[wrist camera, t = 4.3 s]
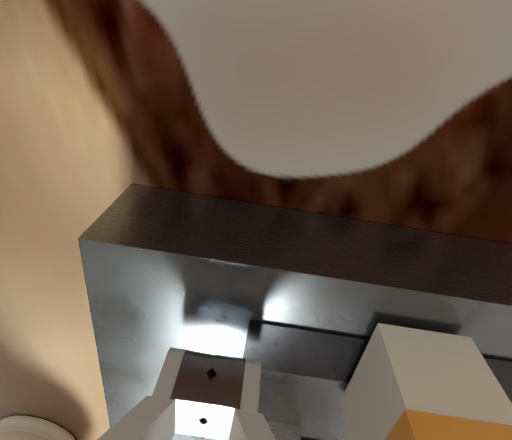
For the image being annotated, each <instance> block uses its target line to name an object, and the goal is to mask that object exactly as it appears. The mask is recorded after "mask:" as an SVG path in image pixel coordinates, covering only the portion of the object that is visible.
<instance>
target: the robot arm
mask: <svg viewBox="0 0 512 440" xmlns="http://www.w3.org/2000/svg"><path fill="white" fill-rule="evenodd" d="M260 376H261V362H260V361H256V360H248V359H245V358H238V357H231V356H224V355H213V354H208V353H202V352H196V351H190V350H185V349H179V348H172V347H170V349H169V351H168V352H167V355H166V358H165V361H164V363H163V366H162V369H161V372H160V374H159V377H158V380H157V383H156V386H155V388H154V391H153V394H152V396H146V397H145V398H144V399H143V400H141V401H140V402H139V403H138V404H137V405H136V406H135V407H134V408H132V409H131V410H130V411H129V412H128V413H127V414H126V415H125V416H123V417H122V418H121V419H120V420H119V421H118V422H117V423H116V424H114V425H113V426H112V427H111V428H110V429H109V430H108V431H107V432H105V433H104V434H103V435H102V436H101V437H100V438H99V439H98V440H171V439H172V437H173V436H174V433H176V434H184V435H193V436H201V437H206V438H212V439H217V440H276V439H275V437H274V435H273V433H272V431H271V429H270V427H269V425H268V423H267V421H266V419H265V417H264V415H263V413H258V407H259V391H260Z"/></svg>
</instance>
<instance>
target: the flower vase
mask: <svg viewBox="0 0 512 440" xmlns="http://www.w3.org/2000/svg"><path fill="white" fill-rule="evenodd" d="M0 440H75V438H74V437H73V436H72V435H71V434H70V433H69V432H68V431H67V430H65V429H63V428H62V427H60V426H59V425H56V424H54V423H52V422H50V421H47V420H44V419H40V418H37V417H31V416H20V415H15V416H9V417H6V418H4V419H1V420H0Z"/></svg>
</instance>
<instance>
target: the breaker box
mask: <svg viewBox="0 0 512 440" xmlns="http://www.w3.org/2000/svg"><path fill="white" fill-rule="evenodd" d="M78 240H79V246H80V252H81V258H82V264H83V270H84V276H85V281H86V287H87V293H88V299H89V305H90V311H91V317H92V322H93V328H94V334H95V340H96V346H97V352H98V358H99V364H100V369H101V375H102V381H103V387H104V393H105V399H106V405H107V411H108V416H109V422H110V428H111V427H112V426H113V425H114V424H116V423H117V422H118V421H119V420H120V419H121V418H122V417H123V416H125V415H126V414H127V413H128V412H129V411H130V410H131V409H132V408H134V407H135V406H136V405H137V404H138V403H139V402H140V401H141V400H143V399H144V398H145V397H146V396H152V394H153V391H154V388H155V386H156V383H157V380H158V377H159V374H160V372H161V369H162V366H163V363H164V361H165V358H166V355H167V352H168V351H169V349H170V347H172V348H179V349H185V350H190V351H196V352H202V353H208V354H213V355H224V356H231V357H238V358H245V359H248V360H256V361H260V362H261V376H260V391H259V407H258V413H263V415H264V417H265V419H266V421H267V423H268V425H269V427H270V429H271V431H272V433H273V435H274V437H275V439H276V440H346V435H345V429H344V423H343V416H342V410H341V403H340V401H341V399H342V397H343V395H344V393H345V391H346V388H347V386H348V384H349V382H350V380H351V378H352V376H353V374H354V372H355V370H356V368H357V366H358V364H359V361H360V359H361V357H362V355H363V353H364V351H365V349H366V347H367V345H368V343H369V341H370V339H371V336H372V334H373V332H374V330H375V328H376V326H377V324H378V323H381V324H388V325H394V326H401V327H407V328H414V329H420V330H427V331H433V332H440V333H446V334H453V335H459V336H465V337H471V338H472V340H473V341H474V343H475V345H476V346H477V348H478V350H479V351H480V353H481V354H482V356H483V358H484V359H485V361H486V363H487V364H488V366H489V367H490V369H491V371H492V372H493V374H494V376H495V377H496V379H497V380H498V382H499V384H500V385H501V387H502V389H503V390H504V392H505V393H506V395H507V397H508V398H509V400H510V402H511V403H512V244H509V243H502V242H496V241H490V240H483V239H477V238H471V237H464V236H458V235H452V234H445V233H439V232H433V231H426V230H420V229H414V228H407V227H401V226H395V225H388V224H382V223H376V222H369V221H363V220H357V219H350V218H344V217H338V216H331V215H325V214H319V213H312V212H306V211H300V210H293V209H287V208H281V207H274V206H268V205H262V204H255V203H249V202H243V201H236V200H230V199H224V198H217V197H211V196H205V195H198V194H192V193H186V192H179V191H173V190H167V189H160V188H154V187H148V186H141V185H135V184H131V185H130V186H129V187H128V188H127V189H126V190H125V191H124V192H123V193H122V194H121V195H120V196H119V197H118V198H117V199H116V200H115V201H114V202H113V203H112V204H111V206H110V207H109V208H108V209H107V210H106V211H105V212H104V213H103V214H102V215H101V216H100V217H99V218H98V219H97V220H96V221H95V222H94V223H93V224H92V225H91V226H90V227H89V228H88V229H87V230H86V231H85V232H84V233H83V234H82V235H81V236H80V237H79V238H78ZM171 440H217V439H212V438H206V437H201V436H193V435H184V434H176V433H174V436H173V437H172V439H171Z"/></svg>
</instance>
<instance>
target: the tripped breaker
mask: <svg viewBox="0 0 512 440" xmlns="http://www.w3.org/2000/svg"><path fill="white" fill-rule="evenodd" d="M340 403H341V410H342V416H343V423H344V429H345V435H346V440H512V403H511V402H510V400H509V398H508V397H507V395H506V393H505V392H504V390H503V389H502V387H501V385H500V384H499V382H498V380H497V379H496V377H495V376H494V374H493V372H492V371H491V369H490V367H489V366H488V364H487V363H486V361H485V359H484V358H483V356H482V354H481V353H480V351H479V350H478V348H477V346H476V345H475V343H474V341H473V340H472V338H471V337H465V336H459V335H453V334H446V333H440V332H433V331H427V330H420V329H414V328H407V327H401V326H394V325H388V324H381V323H378V324H377V326H376V328H375V330H374V332H373V334H372V336H371V339H370V341H369V343H368V345H367V347H366V349H365V351H364V353H363V355H362V357H361V359H360V361H359V364H358V366H357V368H356V370H355V372H354V374H353V376H352V378H351V380H350V382H349V384H348V386H347V388H346V391H345V393H344V395H343V397H342V399H341V401H340Z"/></svg>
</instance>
